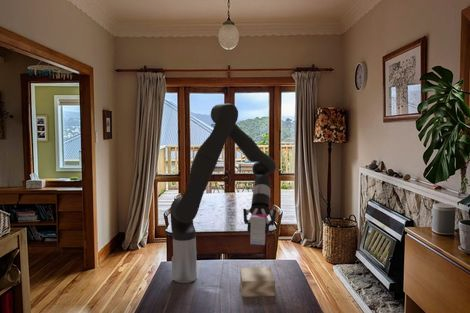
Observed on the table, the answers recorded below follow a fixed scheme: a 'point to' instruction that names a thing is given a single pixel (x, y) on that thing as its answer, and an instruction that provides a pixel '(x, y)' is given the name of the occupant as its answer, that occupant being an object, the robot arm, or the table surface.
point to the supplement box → (258, 230)
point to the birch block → (257, 282)
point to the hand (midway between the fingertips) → (257, 233)
